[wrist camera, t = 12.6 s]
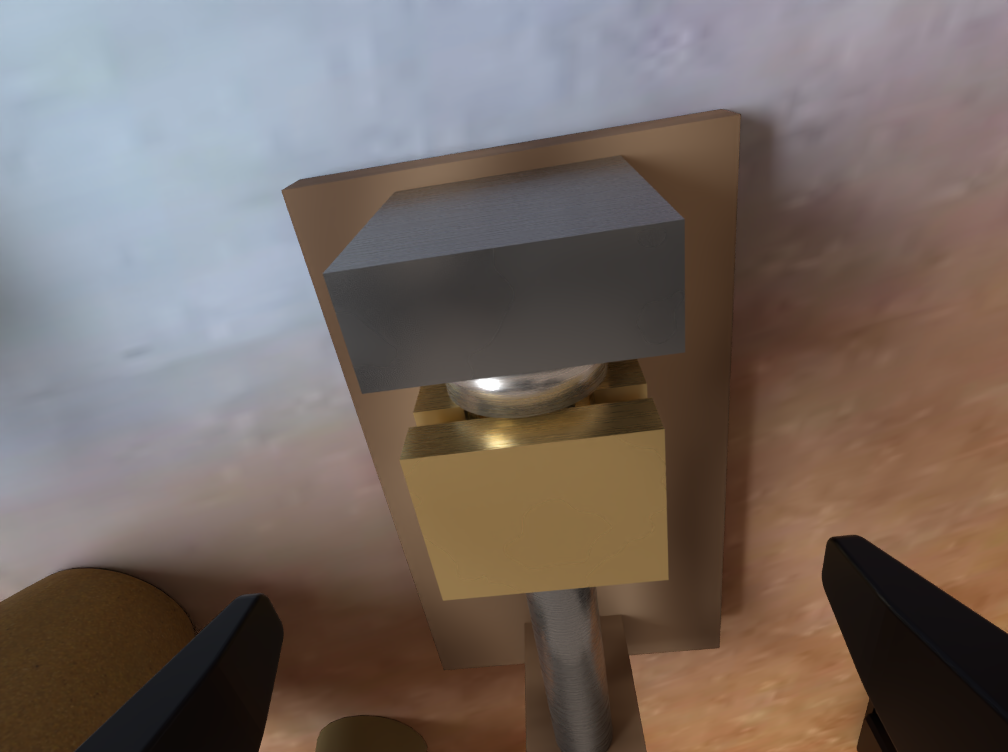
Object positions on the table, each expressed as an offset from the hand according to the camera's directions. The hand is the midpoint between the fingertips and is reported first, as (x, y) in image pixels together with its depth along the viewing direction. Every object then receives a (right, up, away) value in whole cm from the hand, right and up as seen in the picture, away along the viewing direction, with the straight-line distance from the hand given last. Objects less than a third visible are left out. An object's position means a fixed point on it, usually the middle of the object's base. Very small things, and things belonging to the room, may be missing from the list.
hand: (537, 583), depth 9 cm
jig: (+1, +1, +12) cm, 12 cm away
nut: (0, +3, +7) cm, 7 cm away
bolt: (+1, +1, +10) cm, 10 cm away
